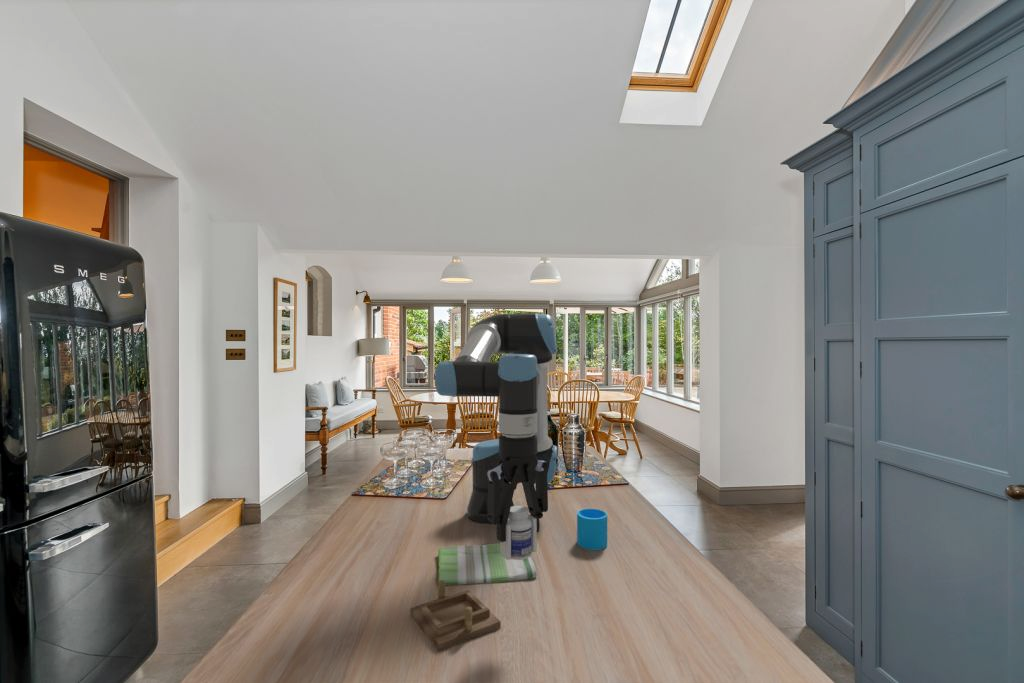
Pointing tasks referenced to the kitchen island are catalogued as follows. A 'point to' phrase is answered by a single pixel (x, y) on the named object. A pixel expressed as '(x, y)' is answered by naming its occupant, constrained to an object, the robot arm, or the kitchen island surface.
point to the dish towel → (481, 565)
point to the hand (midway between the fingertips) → (518, 552)
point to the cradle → (454, 618)
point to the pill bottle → (520, 533)
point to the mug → (592, 529)
